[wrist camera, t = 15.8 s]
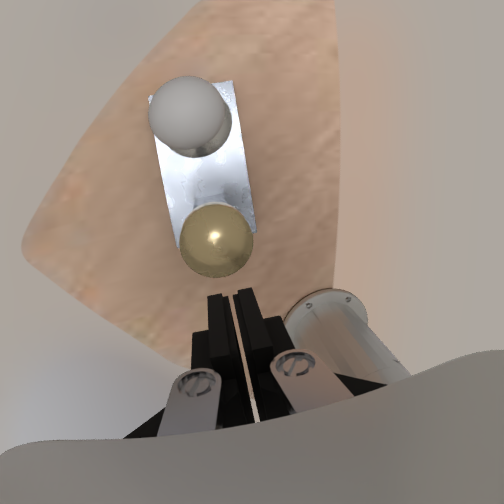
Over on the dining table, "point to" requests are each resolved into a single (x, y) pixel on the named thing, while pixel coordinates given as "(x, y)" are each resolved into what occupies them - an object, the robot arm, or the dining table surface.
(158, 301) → the dining table surface
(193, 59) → the dining table surface
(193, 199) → the metal press stand
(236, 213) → the brass knob
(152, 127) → the lightbulb
